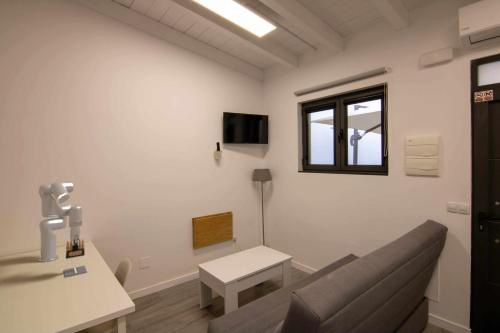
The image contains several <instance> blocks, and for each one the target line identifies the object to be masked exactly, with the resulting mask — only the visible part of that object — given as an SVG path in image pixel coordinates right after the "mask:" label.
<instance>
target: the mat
mask: <svg viewBox="0 0 500 333" xmlns="http://www.w3.org/2000/svg"><path fill="white" fill-rule="evenodd" d="M63 271H64V272H63V273H64V277H65V278H69V277H73V276H77V275H78V276H79V275H82V274H87V273H88V271H87V269H86V265H80V266H76V267H71V268H67V269H66V268H65V269H64V270H63Z"/></svg>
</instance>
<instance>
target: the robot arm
mask: <svg viewBox="0 0 500 333" xmlns="http://www.w3.org/2000/svg"><path fill="white" fill-rule="evenodd" d="M74 190H75V186H74V183H73V182H71V181H56V182H53V183H45V184H41V185H40V186H39V187H38V194H39V197H40V199H41V216H42V217H43V218H45V219H43V220H41V221H40V222H39V227H38V228H39V232H40V257H39V258H38V259H37V261H38V262H40V263H45V262H46V263H47V262H51V261H54V260H57V259H58V258H59V255H58V254H57V235H56V233H55V232H54V231H59V230H63V229H65V228H66V227H67V226H68V228H70V230H69V231H70V232H69V233H70V236H69V241H71V242H72V250H73V251H75V252H76V251H78V249H79V240H80V239H81V238H80V237H81V227H82V226H83V206H81V205H78V204H68V205H67V204H66V205H65V204H64V203H65V202H67V201H68V200H69V199H70V198H71V194H70V193H72V192H74ZM46 218H47V219H46ZM74 240H75V241H74ZM78 252H79V251H78Z"/></svg>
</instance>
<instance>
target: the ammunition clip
mask: <svg viewBox="0 0 500 333" xmlns="http://www.w3.org/2000/svg"><path fill="white" fill-rule="evenodd" d="M81 239H82V240H81ZM74 241H75V240H74ZM72 244H73V241H72V242H71V240H67V241H66V246H65V260H66V259H67V260H68V259H72V258H78V257H83V256H85V253H86V252H85V239H84V238H80V240H79V241H78V251H73V250H72Z"/></svg>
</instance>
